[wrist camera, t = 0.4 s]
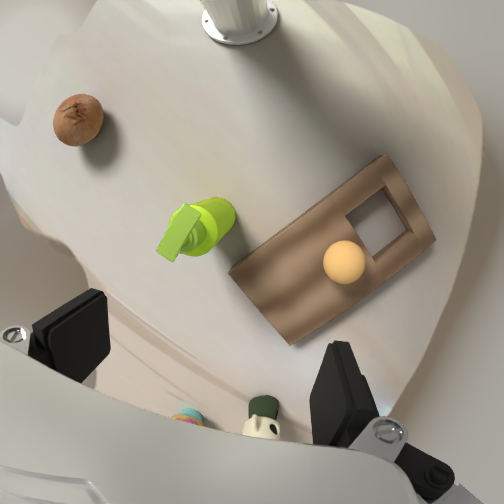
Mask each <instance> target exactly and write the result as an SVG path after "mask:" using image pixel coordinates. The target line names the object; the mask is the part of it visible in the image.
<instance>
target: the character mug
mask: <svg viewBox="0 0 504 504" xmlns="http://www.w3.org/2000/svg"><path fill="white" fill-rule="evenodd" d="M277 406H278V401H277V400H276V399H275V398H274V397H271V396H268V395H266V396H259V397H255V398H253V399H252V400H250V402H249V419H248V420H246V422H245V423H244V425H243V429H242V435H246V436H252V437H258V438H265V439H272V440H280V425H279V423H278V422H277V421H276V418H277V415H278V410H279V407H278V410H277Z"/></svg>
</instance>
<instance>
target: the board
mask: <svg viewBox="0 0 504 504" xmlns="http://www.w3.org/2000/svg"><path fill="white" fill-rule="evenodd" d="M381 188H382V189H383V191H384V192H385V194H386V196H387V197H388V199H389V200H390V202H391V204H392V205H393V207H394V209H395V210H396V212H397V214H398V215H399V217H400V219H401V220H402V222H403V224H404V226H405V227H406V229H407V230H406V231H405V232H404V233H402V234H401V235H400V236H399V237H397V238H396V239H395V240H394V241H392V242H391V243H390V244H388V245H387V246H386V247H385V248H383V249H382V250H381V251H379V252H378V253H377V254H375V255H374V256H373V257H372V256H371V255H370V253H369V252H368V250H367V249H366V247H365V245H364V244H363V242H362V241H361V239H360V238H359V236H358V235H357V233H356V232H355V230H354V229H353V227H352V226H351V224H350V223H349V221H348V220H347V218H346V217H345V216H346V215H347V214H348V213H350V212H351V211H352V210H354V209H355V208H356V207H358V206H359V205H360V204H362V203H363V202H364V201H366V200H367V199H368V198H369V197H371V196H372V195H373V194H375V193H376V192H377V191H379V190H380V189H381ZM338 241H351V242H353V243H355V244H357V245H358V246H359V247H360V248H361V249H362V251H363V253H364V255H365V261H366V262H365V269H364V271H363V273H362V275H361V276H360V277H359V278H358V279H357V280H356V281H354V282H352V283H349V284H340V283H337V282H334V281H333V280H331V279H330V278H329V277H328V275H327V274H326V272H325V270H324V266H323V259H324V255H325V252H326V251H327V249H328V248H329V247H330V246H331V245H332V244H334V243H336V242H338ZM435 241H436V238H435V236H434V234H433V232H432V230H431V228H430V226H429V224H428V222H427V220H426V218H425V216H424V214H423V213H422V211H421V209H420V207H419V205H418V203H417V202H416V200H415V198H414V196H413V195H412V193H411V191H410V189H409V188H408V186H407V184H406V183H405V181H404V179H403V178H402V176H401V175H400V173H399V171H398V170H397V168H396V167H395V165H394V164H393V162H392V161H391V159H390V158H389V156H388V155H387V154H386V155H381V156H379V157H378V158H377V159H375V160H374V161H373V162H371V163H370V164H369V165H367V166H366V167H365V168H363V169H362V170H361V171H359V172H358V173H357V174H355V175H354V176H353V177H351V178H350V179H349V180H347V181H346V182H345V183H343V184H342V185H341V186H339V187H338V188H337V189H335V190H334V191H333V192H331V193H330V194H329V195H327V196H326V197H325V198H323V199H322V200H321V201H319V202H318V203H317V204H315V205H314V206H313V207H311V208H310V209H309V210H307V211H306V212H305V213H303V214H302V215H301V216H299V217H298V218H297V219H295V220H294V221H293V222H291V223H290V224H289V225H287V226H286V227H285V228H283V229H282V230H281V231H279V232H278V233H277V234H275V235H274V236H273V237H271V238H270V239H269V240H267V241H266V242H265V243H263V244H262V245H261V246H259V247H258V248H257V249H255V250H254V251H253V252H251V253H250V254H249V255H247V256H246V257H245V258H243V259H242V260H241V261H239V262H238V263H237V264H235V265H234V266H233V267H231V269H230V271H229V273H228V274H229V275H230V276H231V278H232V279H233V280H234V281H235V282H236V283H237V285H238V286H239V287H240V288H241V289H242V291H243V292H244V293H245V294H246V295H247V297H248V298H249V299H250V300H251V301H252V302H253V304H254V305H255V306H256V307H257V308H258V309H259V311H260V312H261V313H262V314H263V315H264V316H265V318H266V319H267V320H268V321H269V322H270V323H271V325H272V326H273V327H274V328H275V329H276V330H277V331H278V333H279V334H280V335H281V336H282V337H283V338H284V339H285V341H286V342H287V343H288V344H289V345H292V344H294V343H295V342H297V341H298V340H300V339H302V338H303V337H305V336H307V335H308V334H310V333H311V332H313V331H314V330H316V329H318V328H319V327H321V326H322V325H324V324H325V323H327V322H328V321H330V320H331V319H333V318H334V317H336V316H337V315H339V314H340V313H342V312H343V311H345V310H346V309H348V308H349V307H351V306H352V305H353V304H355V303H356V302H358V301H359V300H360V299H362V298H363V297H365V296H366V295H367V294H369V293H370V292H372V291H373V290H374V289H376V288H377V287H378V286H380V285H381V284H382V283H384V282H385V281H386V280H388V279H389V278H390V277H392V276H393V275H394V274H395V273H397V272H398V271H399V270H401V269H402V268H403V267H404V266H406V265H407V264H408V263H409V262H411V261H412V260H413V259H414V258H416V257H417V256H418V255H419V254H420V253H422V252H423V251H424V250H425V249H426V248H428V247H429V246H430V245H431V244H432V243H433V242H435Z"/></svg>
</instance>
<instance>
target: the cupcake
mask: <svg viewBox="0 0 504 504" xmlns="http://www.w3.org/2000/svg"><path fill="white" fill-rule="evenodd" d="M171 418H174V419H177V420H181V421H184V422H188V423H192V424H195V425H199V426H203V427H205V426H204V425H203V423H202V416H201V414H200V413H199V412H198V411H196V410H194V409H189V408H187V409H184V410H182V412H181V413H179V414H178V415H175V416H173V417H171Z"/></svg>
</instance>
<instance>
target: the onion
mask: <svg viewBox="0 0 504 504" xmlns="http://www.w3.org/2000/svg"><path fill="white" fill-rule="evenodd" d="M103 118H104V116H103V109H102V106H101V104H100V103H99V101H98V100H97V99H96V98H94V97H93V96H90V95H86V94H78V95H74V96H71V97H69V98H68V99H66V100H65V101H64V102H63V103H62V104H61V105H60V106H59V107H58V109H57V110H56V113H55V116H54V120H53V127H54V131H55V134H56V136H57V137H58V139H59V140H60V141H61V142H63V143H64V144H67V145H69V146H76V147H77V146H81V145H84V144H86V143H88V142H89V141H91V140H92V139H93V138H94V137H97V136H98V132H99V130H100V128H101V126H102V123H103Z"/></svg>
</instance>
